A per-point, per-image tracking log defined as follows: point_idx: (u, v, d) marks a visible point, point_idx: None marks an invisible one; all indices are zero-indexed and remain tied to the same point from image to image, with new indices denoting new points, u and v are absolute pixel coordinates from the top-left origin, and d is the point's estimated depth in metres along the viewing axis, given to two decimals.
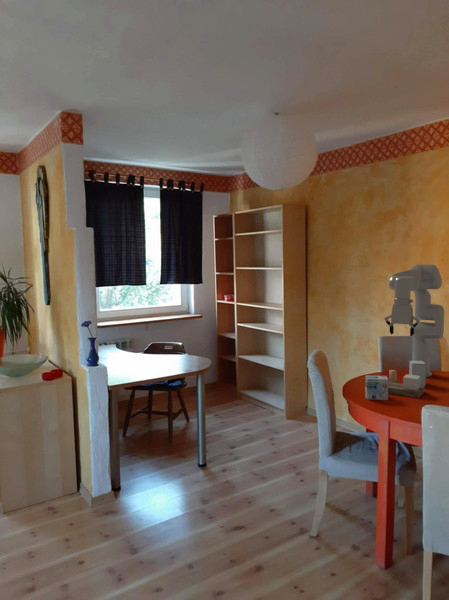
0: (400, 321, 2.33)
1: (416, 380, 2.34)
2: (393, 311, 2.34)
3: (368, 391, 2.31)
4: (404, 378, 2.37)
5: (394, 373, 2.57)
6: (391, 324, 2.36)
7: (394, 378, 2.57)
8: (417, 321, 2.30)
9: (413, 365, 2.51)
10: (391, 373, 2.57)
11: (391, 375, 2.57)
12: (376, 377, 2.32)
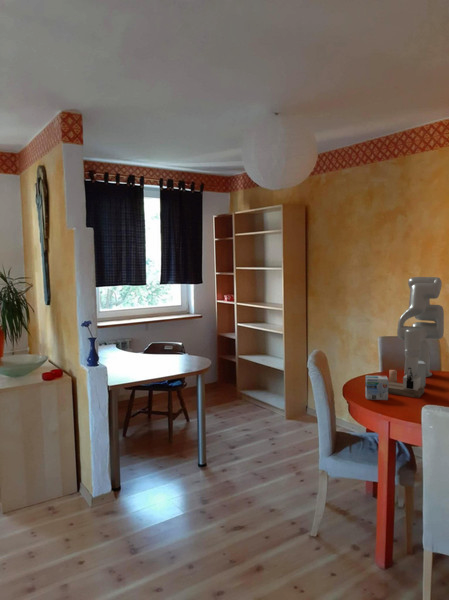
0: (416, 372, 2.37)
1: (416, 380, 2.34)
2: (414, 364, 2.33)
3: (368, 391, 2.31)
4: (404, 378, 2.37)
5: (394, 373, 2.57)
6: (412, 378, 2.34)
7: (394, 378, 2.57)
8: None
9: None
10: (391, 373, 2.57)
11: (391, 375, 2.57)
12: (376, 377, 2.32)
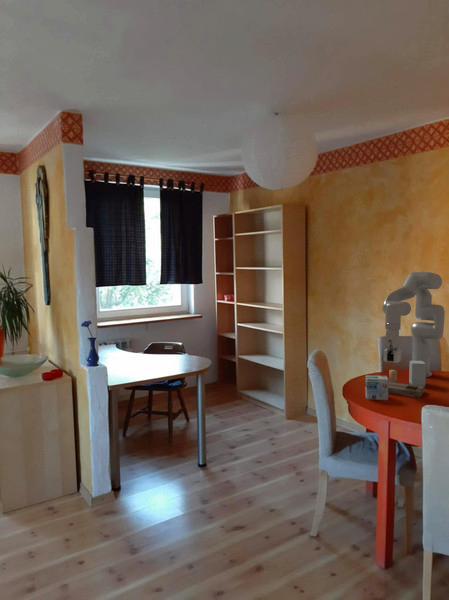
0: (396, 345, 2.41)
1: (396, 353, 2.38)
2: (395, 337, 2.38)
3: (368, 391, 2.31)
4: (385, 351, 2.41)
5: (394, 373, 2.57)
6: None
7: (394, 378, 2.57)
8: None
9: (413, 365, 2.51)
10: (391, 373, 2.57)
11: (391, 375, 2.57)
12: (376, 377, 2.32)
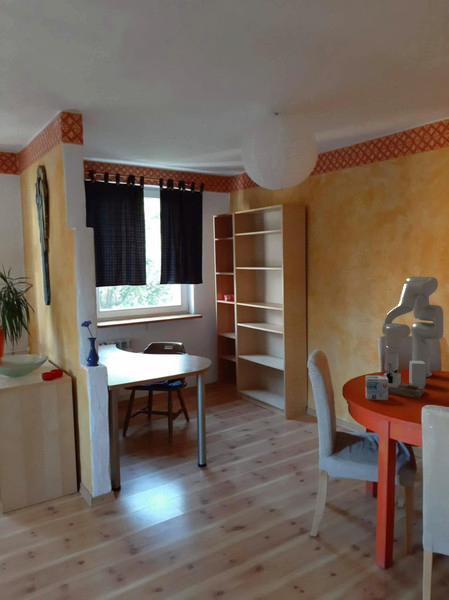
0: (396, 368, 2.42)
1: (396, 377, 2.40)
2: (394, 360, 2.39)
3: (368, 391, 2.31)
4: (384, 375, 2.43)
5: None
6: (392, 373, 2.39)
7: None
8: None
9: (413, 365, 2.51)
10: None
11: None
12: (376, 377, 2.32)
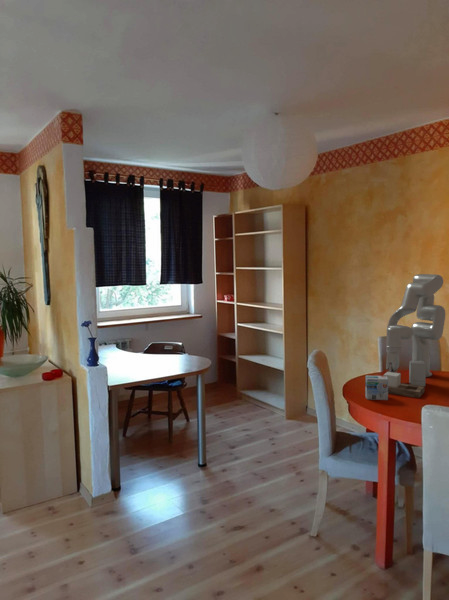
0: (397, 367, 2.57)
1: (396, 377, 2.40)
2: (395, 359, 2.53)
3: (368, 391, 2.31)
4: (384, 375, 2.43)
5: None
6: None
7: None
8: None
9: (413, 365, 2.51)
10: None
11: None
12: (376, 377, 2.32)
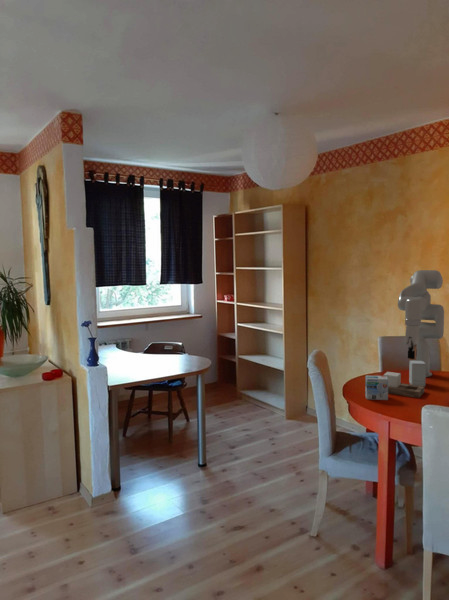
0: (417, 342, 2.35)
1: (396, 377, 2.40)
2: (415, 333, 2.32)
3: (368, 391, 2.31)
4: (384, 375, 2.43)
5: None
6: None
7: None
8: None
9: (413, 365, 2.51)
10: None
11: None
12: (376, 377, 2.32)
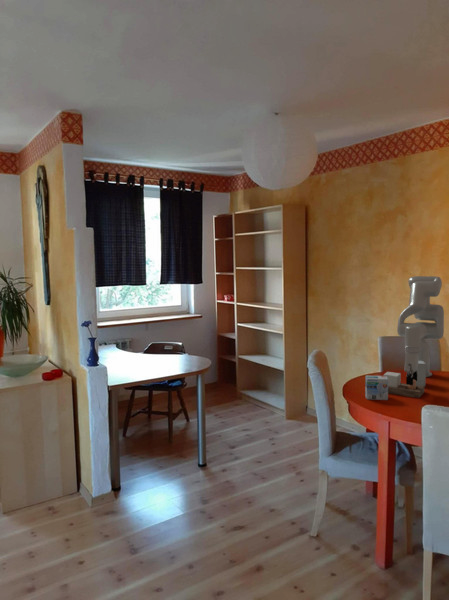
0: (416, 369, 2.36)
1: (396, 377, 2.40)
2: (415, 361, 2.33)
3: (368, 391, 2.31)
4: (384, 375, 2.43)
5: (413, 383, 2.37)
6: (412, 374, 2.34)
7: (413, 388, 2.37)
8: None
9: None
10: None
11: (410, 385, 2.38)
12: (376, 377, 2.32)
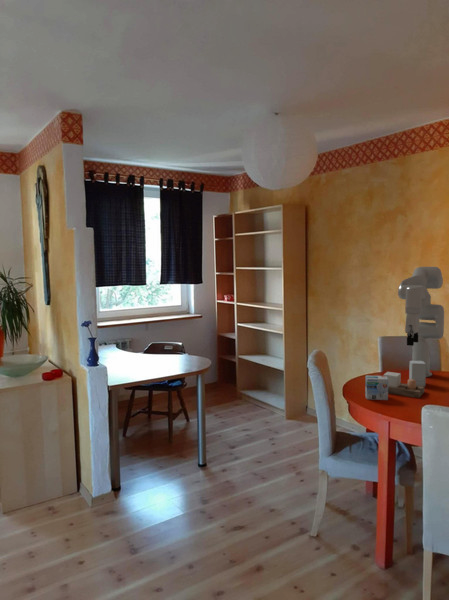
0: (417, 330, 2.34)
1: (396, 377, 2.40)
2: (415, 321, 2.31)
3: (368, 391, 2.31)
4: (384, 375, 2.43)
5: (413, 383, 2.37)
6: (413, 335, 2.31)
7: (413, 388, 2.37)
8: None
9: (413, 365, 2.51)
10: (410, 383, 2.37)
11: (410, 385, 2.38)
12: (376, 377, 2.32)
